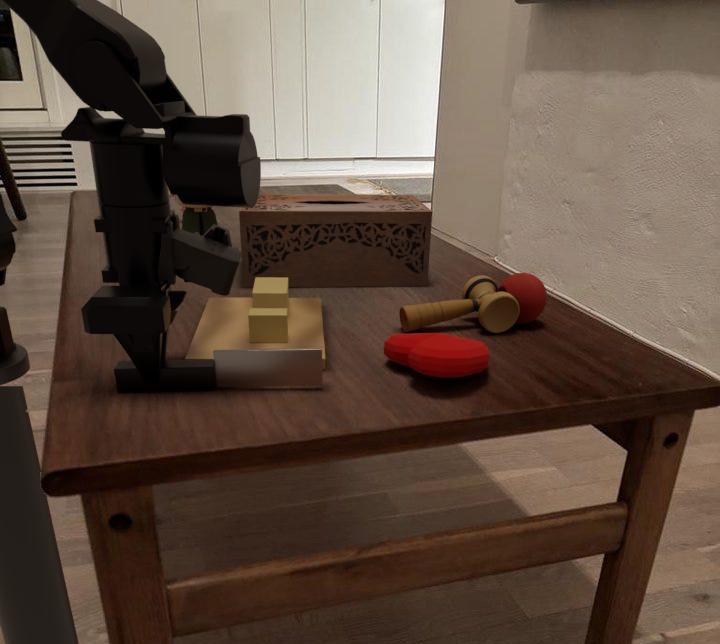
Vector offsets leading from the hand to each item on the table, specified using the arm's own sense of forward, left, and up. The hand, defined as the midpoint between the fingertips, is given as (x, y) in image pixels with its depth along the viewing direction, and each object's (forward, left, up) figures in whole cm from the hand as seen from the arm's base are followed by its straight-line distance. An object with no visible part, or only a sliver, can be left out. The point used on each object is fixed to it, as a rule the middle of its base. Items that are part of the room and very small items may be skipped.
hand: (155, 378), depth 69 cm
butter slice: (+10, +11, 0) cm, 15 cm away
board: (+9, +16, -1) cm, 18 cm away
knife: (+6, 0, -1) cm, 6 cm away
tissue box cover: (+18, +44, -1) cm, 48 cm away
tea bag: (-9, +85, -1) cm, 85 cm away
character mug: (-3, +61, -1) cm, 61 cm away
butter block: (+10, +22, 0) cm, 24 cm away
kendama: (+34, +19, -1) cm, 39 cm away
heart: (+28, +4, -1) cm, 28 cm away
